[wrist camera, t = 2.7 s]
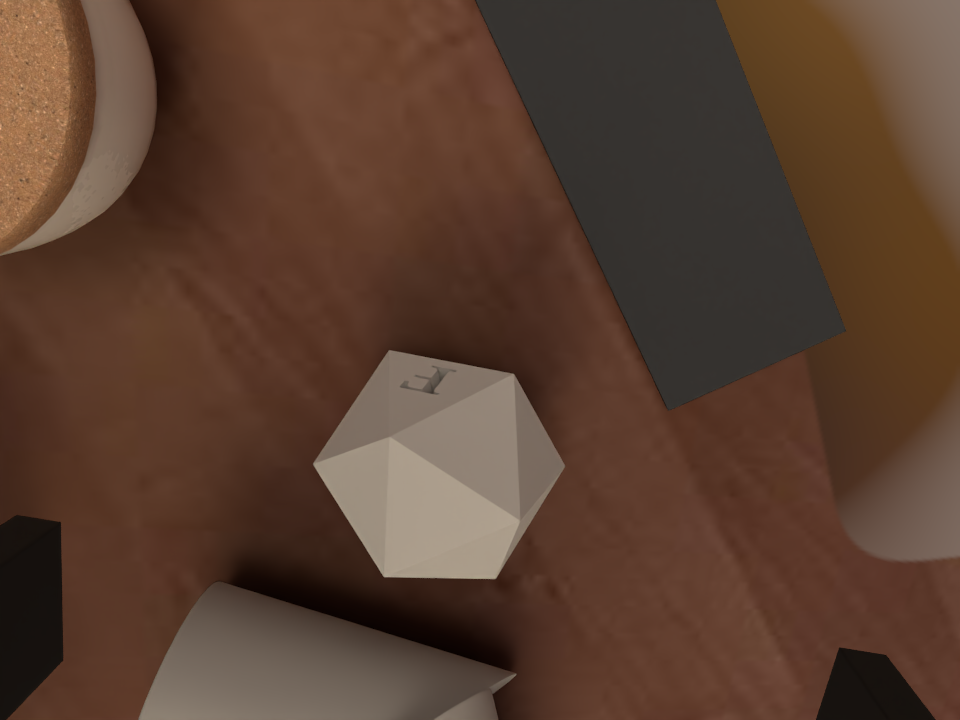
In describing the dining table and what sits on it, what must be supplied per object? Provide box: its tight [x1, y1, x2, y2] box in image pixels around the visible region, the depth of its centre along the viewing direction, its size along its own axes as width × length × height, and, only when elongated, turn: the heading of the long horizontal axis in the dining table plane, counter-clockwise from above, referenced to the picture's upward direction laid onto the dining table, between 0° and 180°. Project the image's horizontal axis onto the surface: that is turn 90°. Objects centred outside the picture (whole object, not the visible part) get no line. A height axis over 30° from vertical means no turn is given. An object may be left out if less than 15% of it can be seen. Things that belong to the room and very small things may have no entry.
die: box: [313, 350, 565, 579], centre depth 27 cm, size 8×9×10 cm
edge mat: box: [475, 0, 846, 411], centre depth 28 cm, size 20×8×1 cm, turn 27°
